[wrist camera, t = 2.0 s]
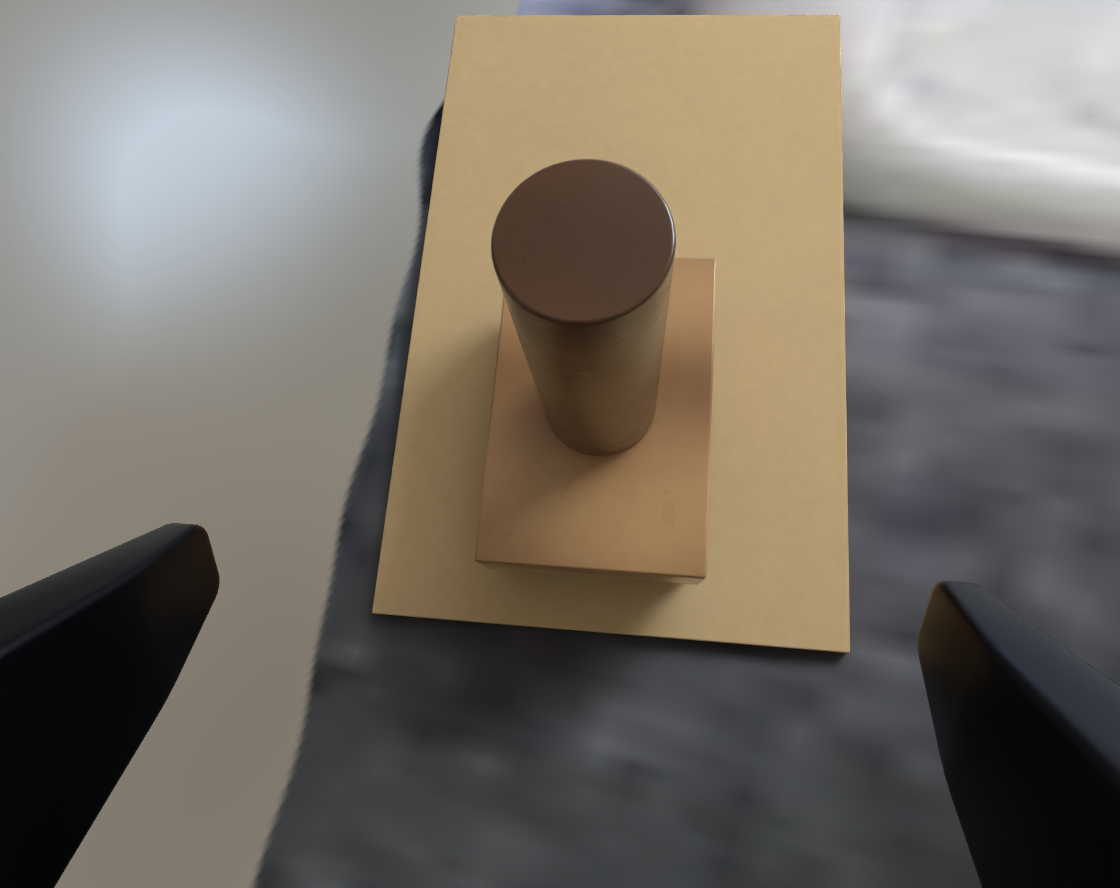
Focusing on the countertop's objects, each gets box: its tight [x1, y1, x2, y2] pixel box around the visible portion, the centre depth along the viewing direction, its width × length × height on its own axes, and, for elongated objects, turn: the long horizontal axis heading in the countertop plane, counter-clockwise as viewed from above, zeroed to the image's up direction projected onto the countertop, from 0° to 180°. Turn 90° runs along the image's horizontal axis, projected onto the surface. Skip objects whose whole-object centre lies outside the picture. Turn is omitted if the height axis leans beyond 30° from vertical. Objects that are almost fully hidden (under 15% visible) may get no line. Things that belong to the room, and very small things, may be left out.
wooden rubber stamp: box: [475, 159, 717, 585], centre depth 18 cm, size 9×6×12 cm, turn 175°
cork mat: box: [372, 15, 850, 653], centre depth 25 cm, size 22×14×1 cm, turn 175°
